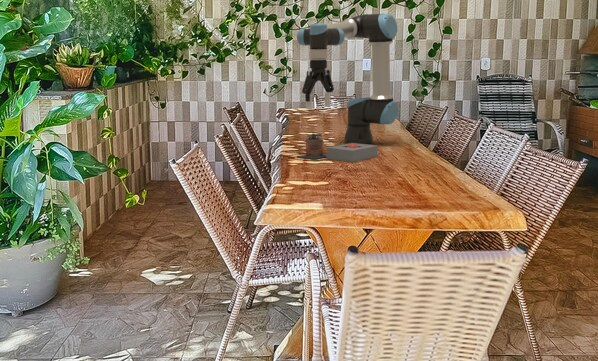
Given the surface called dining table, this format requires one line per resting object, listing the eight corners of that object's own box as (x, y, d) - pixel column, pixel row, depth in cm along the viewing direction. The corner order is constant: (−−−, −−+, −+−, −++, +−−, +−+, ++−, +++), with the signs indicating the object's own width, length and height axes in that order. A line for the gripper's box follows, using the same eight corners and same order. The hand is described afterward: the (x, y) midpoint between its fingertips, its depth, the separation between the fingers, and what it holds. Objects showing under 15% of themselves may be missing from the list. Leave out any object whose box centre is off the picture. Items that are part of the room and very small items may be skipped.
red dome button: (350, 154, 317) (351, 143, 316) (359, 155, 314) (360, 144, 313) (344, 155, 313) (345, 144, 312) (353, 156, 310) (354, 145, 310)
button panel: (351, 153, 326) (351, 142, 325) (377, 156, 317) (377, 145, 316) (326, 158, 311) (326, 147, 310) (352, 162, 302) (353, 150, 301)
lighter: (306, 156, 312) (306, 134, 311) (304, 155, 316) (304, 133, 314) (323, 156, 314) (324, 133, 312) (322, 155, 317) (322, 133, 315)
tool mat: (313, 154, 322) (313, 153, 322) (330, 156, 316) (330, 155, 316) (296, 157, 313) (296, 156, 313) (314, 160, 307) (314, 158, 307)
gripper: (328, 58, 319) (328, 105, 324) (293, 60, 300) (294, 109, 305) (341, 58, 315) (341, 106, 319) (307, 60, 296) (307, 110, 300)
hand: (318, 107), depth 312 cm, fingers open, 13 cm apart
